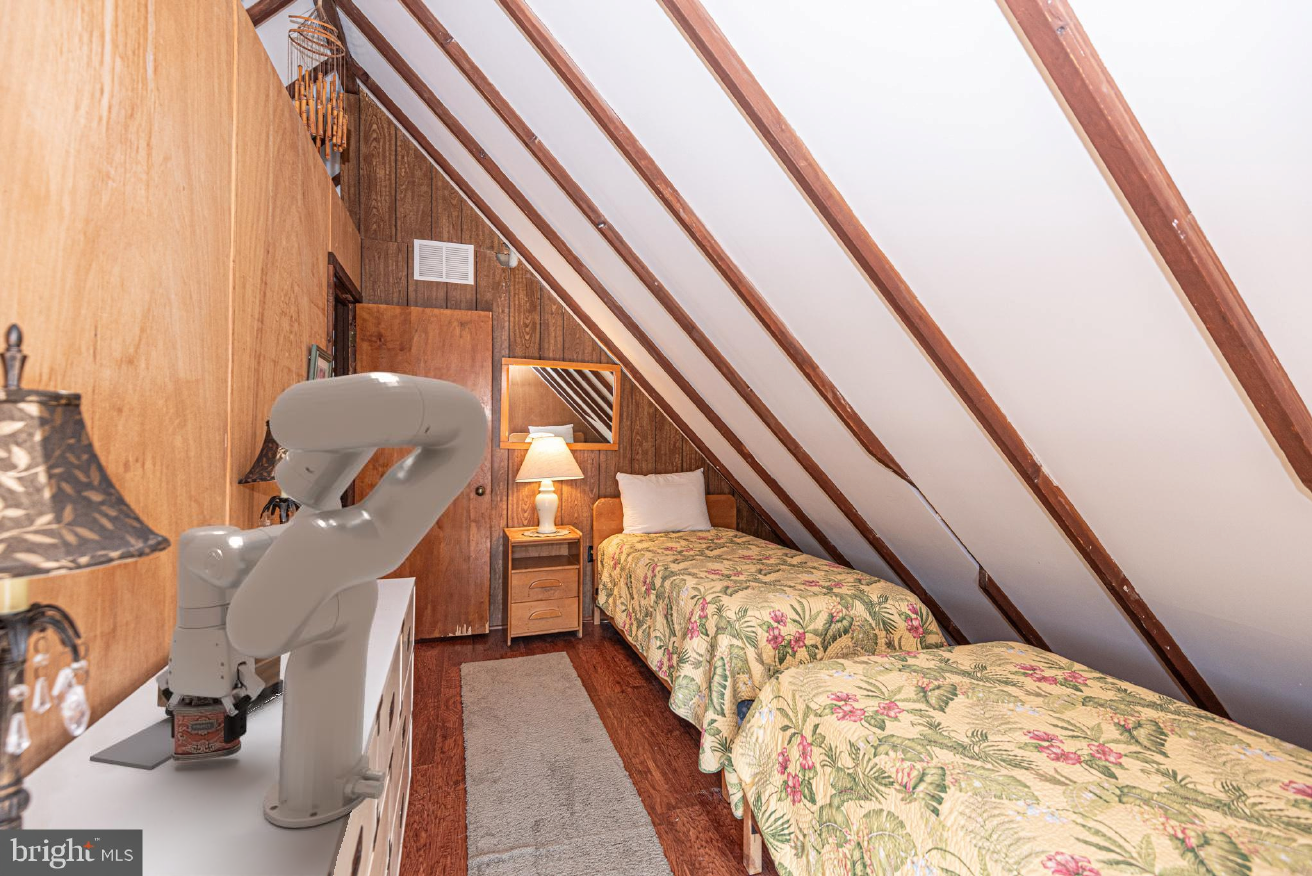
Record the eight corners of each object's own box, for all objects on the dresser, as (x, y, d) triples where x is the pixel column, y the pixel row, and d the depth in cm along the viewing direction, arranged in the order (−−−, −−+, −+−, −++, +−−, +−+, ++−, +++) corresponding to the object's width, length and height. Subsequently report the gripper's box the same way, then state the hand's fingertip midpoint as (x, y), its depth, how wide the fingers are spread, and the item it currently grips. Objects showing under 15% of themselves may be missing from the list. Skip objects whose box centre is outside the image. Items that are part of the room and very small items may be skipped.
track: (282, 693, 103) (283, 679, 103) (151, 769, 80) (151, 752, 80) (233, 686, 104) (234, 673, 104) (89, 760, 81) (90, 742, 81)
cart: (279, 692, 102) (280, 655, 101) (215, 728, 89) (217, 686, 89) (226, 685, 103) (228, 648, 103) (156, 720, 91) (158, 678, 90)
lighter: (167, 764, 79) (167, 693, 78) (180, 750, 82) (180, 682, 82) (235, 756, 81) (236, 687, 81) (245, 742, 84) (245, 676, 84)
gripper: (286, 609, 84) (284, 728, 84) (182, 602, 86) (180, 718, 86) (243, 626, 77) (241, 756, 77) (130, 618, 79) (129, 744, 79)
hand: (209, 735), depth 82 cm, fingers closed on lighter, 7 cm apart
